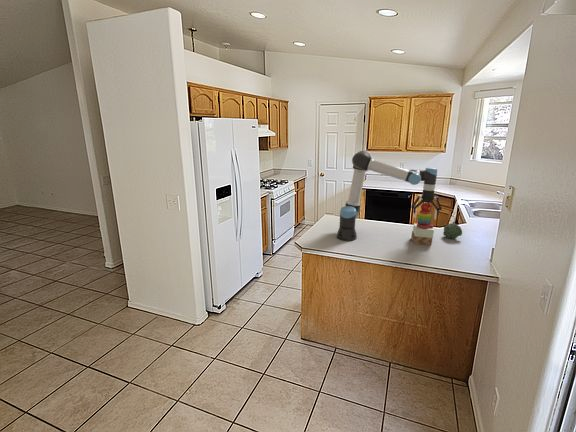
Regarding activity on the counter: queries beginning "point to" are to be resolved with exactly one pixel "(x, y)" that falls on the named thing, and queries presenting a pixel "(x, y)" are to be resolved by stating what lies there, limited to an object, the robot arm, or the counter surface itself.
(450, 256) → the counter surface
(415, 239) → the lower slab
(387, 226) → the counter surface
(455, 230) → the vegetable
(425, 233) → the upper slab
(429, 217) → the stacking bear
